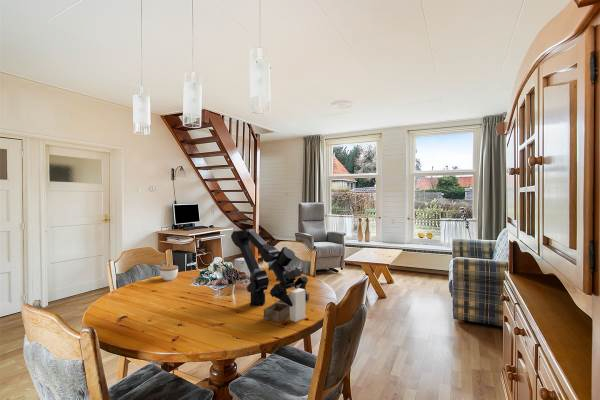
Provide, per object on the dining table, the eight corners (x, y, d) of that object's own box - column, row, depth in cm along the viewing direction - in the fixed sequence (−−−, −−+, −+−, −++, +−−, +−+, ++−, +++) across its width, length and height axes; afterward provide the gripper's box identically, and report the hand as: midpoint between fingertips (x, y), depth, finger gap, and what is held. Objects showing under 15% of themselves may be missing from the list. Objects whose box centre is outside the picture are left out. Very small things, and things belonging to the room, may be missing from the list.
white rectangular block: (289, 319, 127) (289, 291, 127) (299, 315, 131) (299, 288, 131) (295, 322, 125) (295, 293, 124) (305, 317, 129) (305, 289, 129)
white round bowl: (172, 282, 183) (172, 266, 183) (156, 281, 185) (155, 266, 185) (181, 277, 194) (181, 262, 194) (166, 276, 195) (166, 262, 195)
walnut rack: (263, 318, 128) (263, 309, 128) (294, 298, 153) (294, 290, 153) (280, 322, 124) (280, 312, 124) (309, 300, 150) (309, 292, 150)
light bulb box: (246, 272, 207) (246, 256, 207) (253, 273, 203) (253, 257, 203) (234, 275, 199) (234, 258, 199) (240, 277, 194) (240, 260, 194)
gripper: (274, 265, 124) (293, 298, 116) (304, 258, 137) (324, 287, 130) (262, 280, 129) (279, 313, 122) (292, 272, 143) (310, 301, 135)
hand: (299, 303), depth 127 cm, fingers open, 9 cm apart
